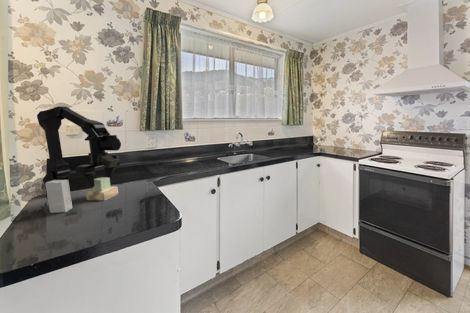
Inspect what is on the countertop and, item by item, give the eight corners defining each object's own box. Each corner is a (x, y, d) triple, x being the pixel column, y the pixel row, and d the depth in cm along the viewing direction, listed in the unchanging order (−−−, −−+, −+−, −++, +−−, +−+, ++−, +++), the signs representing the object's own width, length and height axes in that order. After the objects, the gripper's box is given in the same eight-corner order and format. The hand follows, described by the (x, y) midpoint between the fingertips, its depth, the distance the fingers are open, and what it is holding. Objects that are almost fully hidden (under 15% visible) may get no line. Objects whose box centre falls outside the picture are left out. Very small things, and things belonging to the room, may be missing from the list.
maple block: (86, 200, 101) (85, 191, 101) (101, 194, 110) (100, 186, 109) (104, 201, 100) (103, 192, 99) (118, 194, 109) (117, 186, 108)
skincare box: (73, 208, 91) (68, 179, 89) (65, 212, 87) (61, 182, 85) (57, 208, 91) (53, 179, 89) (49, 213, 87) (44, 182, 85)
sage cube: (93, 190, 103) (91, 179, 102) (102, 187, 107) (100, 177, 107) (101, 191, 101) (100, 180, 100) (110, 188, 106) (109, 177, 105)
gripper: (94, 153, 91) (98, 191, 93) (127, 148, 108) (130, 179, 111) (72, 153, 94) (77, 189, 96) (108, 148, 111) (111, 178, 114)
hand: (101, 184), depth 104 cm, fingers open, 9 cm apart
